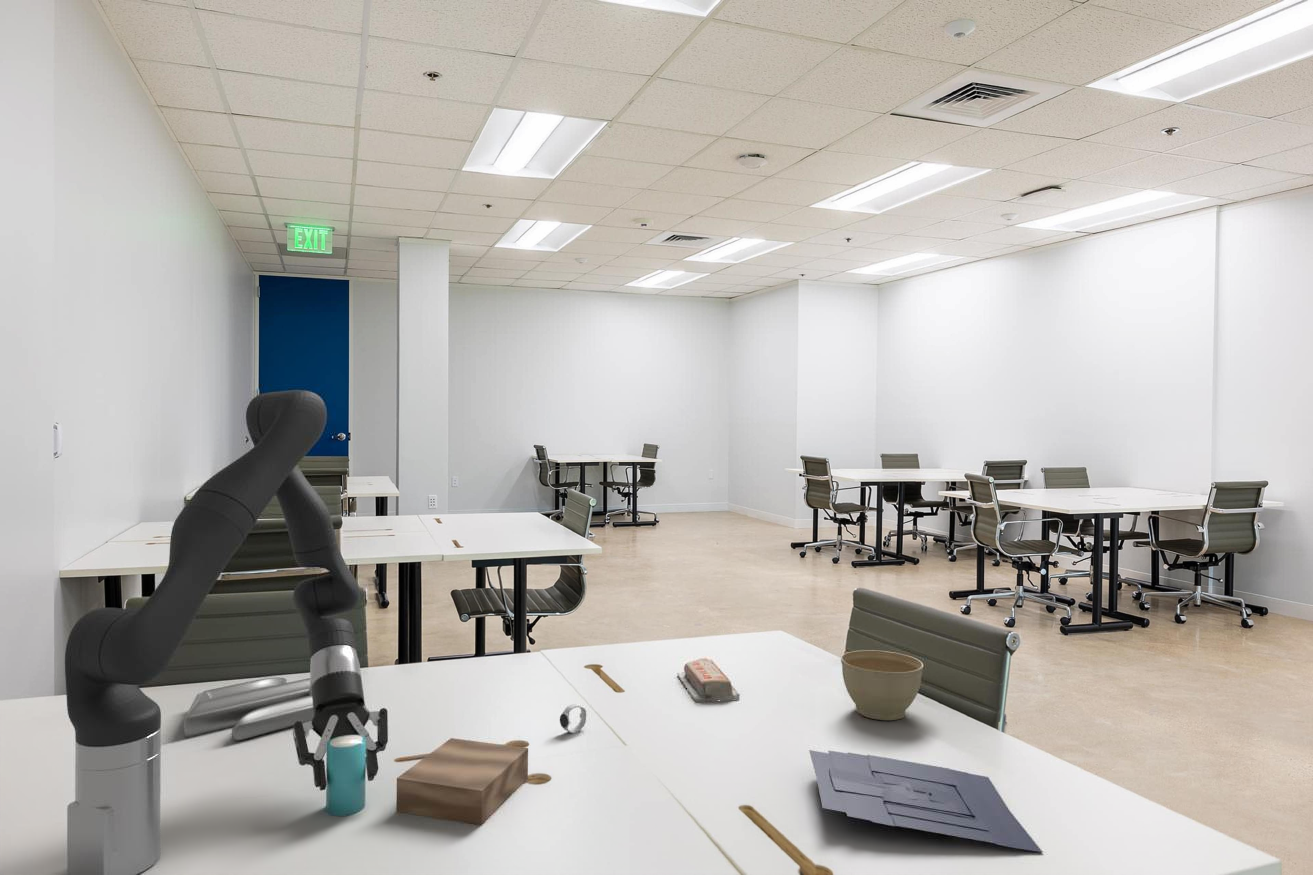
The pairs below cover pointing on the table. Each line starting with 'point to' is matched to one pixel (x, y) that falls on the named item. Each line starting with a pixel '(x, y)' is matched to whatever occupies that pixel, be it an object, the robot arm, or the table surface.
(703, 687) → the packaged product
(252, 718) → the emblem
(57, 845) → the table surface
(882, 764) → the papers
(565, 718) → the wristwatch
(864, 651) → the planter bowl
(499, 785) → the wooden square base
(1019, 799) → the table surface
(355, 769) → the tumbler
